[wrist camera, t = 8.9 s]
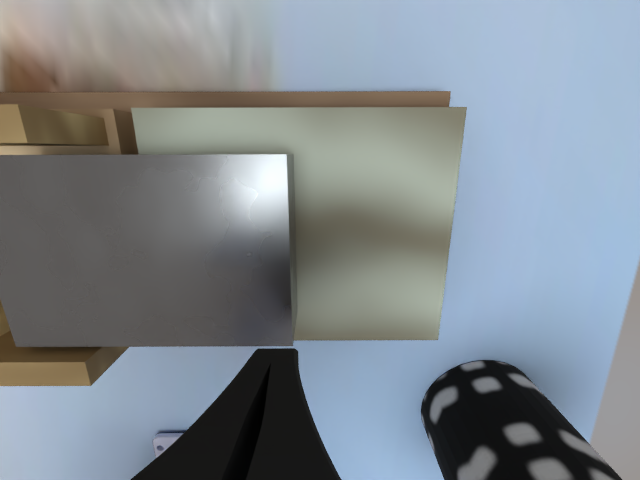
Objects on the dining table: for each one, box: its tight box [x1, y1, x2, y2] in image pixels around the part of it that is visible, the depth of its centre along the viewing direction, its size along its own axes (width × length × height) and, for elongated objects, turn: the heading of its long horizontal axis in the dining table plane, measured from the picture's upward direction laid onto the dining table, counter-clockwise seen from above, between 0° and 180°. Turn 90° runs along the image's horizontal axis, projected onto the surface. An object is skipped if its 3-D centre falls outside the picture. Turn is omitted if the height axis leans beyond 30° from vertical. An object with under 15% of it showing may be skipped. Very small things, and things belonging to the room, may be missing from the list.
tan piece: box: [0, 91, 467, 386], centre depth 15 cm, size 14×30×7 cm, turn 90°
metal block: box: [0, 154, 298, 347], centre depth 13 cm, size 8×12×3 cm, turn 90°
